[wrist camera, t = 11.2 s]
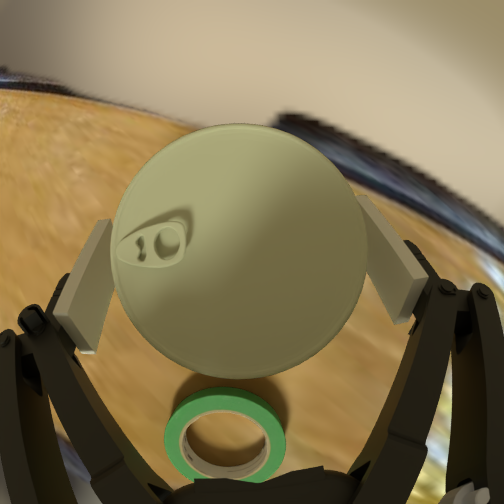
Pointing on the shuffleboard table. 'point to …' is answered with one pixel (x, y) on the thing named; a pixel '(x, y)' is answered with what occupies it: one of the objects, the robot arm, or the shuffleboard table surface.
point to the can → (239, 251)
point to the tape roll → (230, 403)
